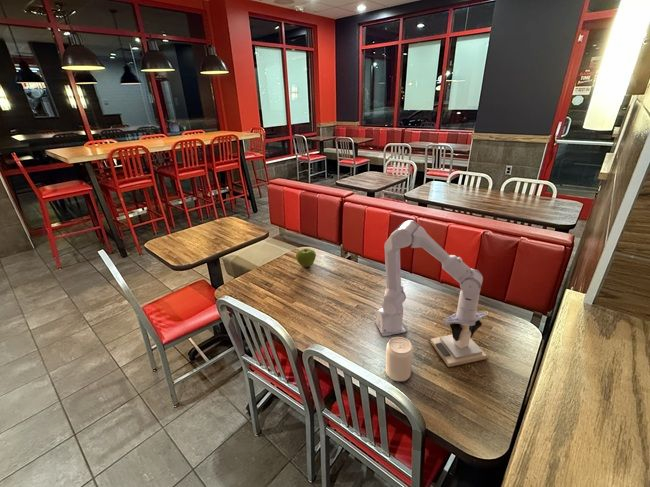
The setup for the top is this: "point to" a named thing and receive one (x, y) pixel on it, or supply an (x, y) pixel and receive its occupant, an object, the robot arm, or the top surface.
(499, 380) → the top surface
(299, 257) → the apple
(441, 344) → the scale
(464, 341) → the pepper shaker
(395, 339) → the beverage can
